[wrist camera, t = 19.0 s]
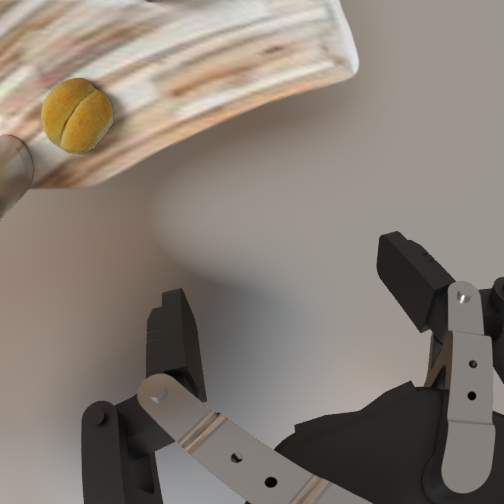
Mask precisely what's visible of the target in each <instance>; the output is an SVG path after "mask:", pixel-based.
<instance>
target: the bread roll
mask: <svg viewBox="0 0 504 504" xmlns="http://www.w3.org/2000/svg"><path fill="white" fill-rule="evenodd" d="M41 120H42V125H43V128H44V131H45V133H46V135H47V137H48V138H49V139H50V140H51V141H52V142H53V143H54V144H56V145H57V146H59V147H60V148H62V149H63V150H65V151H67V152H69V153H74V154H82V153H85V152H87V151H89V150H91V149H92V148H95V146H96V145H97V144H98V143H99V142H100V140H101V139H102V138H103V137H104V135H105V134H106V133H107V131H108V130H109V127H110V126H111V125H112V124H113V122H114V120H113V109H112V105H111V102H110V101H109V99H108V98H107V96H106V95H105V94H104V93H102V92H100V91H99V90H97V89H95V88H94V87H93V86H92V85H91V83H89V82H88V81H87V80H85V79H83V78H74V79H70V80H66V81H64V82H62V83H60V84H59V85H58V86H56V87H55V88H54V89H53V90H52V91H51V92H50V93H49V94H48V96H47V97H46V99H45V101H44V103H43V107H42V111H41Z"/></svg>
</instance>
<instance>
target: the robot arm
mask: <svg viewBox="0 0 504 504" xmlns="http://www.w3.org/2000/svg"><path fill="white" fill-rule="evenodd" d="M32 178H33V163H32V159H31V156H30V153H29V151H28V149H27V148H26V147H25V145H24V144H23V143H22V142H21V141H20V140H19V139H17V138H15V137H13V136H10V135H1V136H0V221H1V220H2V218H3V217H4V216H5V215H6V214H7V212H8V211H9V210H10V209H11V208H12V207H13V206H14V205H15V204H16V203H17V202H18V200H19V199H20V198H21V197H22V196H23V195H24V194H25V193H26V191H27V190H28V189H29V187H30V185H31V182H32ZM377 272H378V275H379V277H380V279H381V280H382V282H383V283H384V284H385V285H386V287H387V288H388V289H389V291H390V292H391V293H392V295H393V296H394V297H395V299H396V300H397V301H398V303H399V304H400V305H401V306H402V308H403V309H404V311H405V312H406V314H407V315H408V316H409V318H410V319H411V320H412V322H413V323H414V324H415V326H416V327H417V329H418V330H419V332H420V333H422V332H424V331H427V330H429V329H430V330H432V332H433V333H432V336H431V343H430V354H429V364H428V372H427V377H426V381H425V383H424V387H414V385H413V383H412V381H409V382H407V383H404V384H403V385H400V386H398V387H396V388H393V389H391V390H389V391H387V392H385V393H383V394H382V395H381V396H379V397H378V398H377V399H375V400H374V401H373V402H371V403H370V404H369V405H367V406H366V407H365V408H363V409H362V410H360V411H356V412H348V413H340V414H332V415H324V416H322V417H318V418H315V419H312V420H309V421H306V422H303V423H299V424H296V425H294V426H295V433H293V434H292V435H290V436H288V437H287V438H286V439H284V440H283V441H282V442H281V443H280V444H279V445H278V446H276V448H275V449H274V450H273V449H271V448H270V447H268V446H267V445H265V444H264V443H262V442H261V441H259V440H258V439H257V438H255V437H254V436H252V435H251V434H249V433H248V432H246V431H245V430H244V429H242V428H241V427H240V426H238V425H237V424H235V423H234V422H233V421H231V420H230V419H229V418H227V417H226V416H224V415H223V414H221V413H216V412H214V411H213V410H211V409H210V408H209V407H207V406H206V405H205V404H204V403H203V402H206V401H207V398H206V391H205V385H204V378H203V370H202V363H201V355H200V347H199V340H198V331H197V326H196V322H195V318H194V315H193V313H192V311H191V308H190V306H189V304H188V301H187V299H186V296H185V294H184V291H183V290H182V288H179V289H175V290H171V291H167V292H163V293H162V307H159V308H155V309H153V310H152V312H151V314H150V316H149V318H148V320H147V344H146V345H147V347H146V379H145V380H144V381H143V382H142V384H141V385H140V387H139V389H138V393H137V394H136V395H135V396H133V397H131V398H129V399H127V400H125V401H124V402H121V403H119V404H117V405H115V406H114V405H112V404H111V403H109V402H107V401H98V402H95V403H93V404H91V405H90V406H89V407H88V408H87V409H86V410H85V412H84V414H83V417H82V432H81V433H82V434H81V436H82V437H81V445H82V446H81V447H82V448H81V452H82V481H83V497H84V504H163V500H162V495H161V489H160V484H159V478H158V472H157V465H156V458H155V451H157V450H159V449H161V448H163V447H165V446H167V445H169V444H171V443H173V442H175V441H176V442H177V443H179V444H180V445H181V446H182V447H183V448H184V449H185V450H186V451H187V452H188V453H189V454H190V455H191V456H192V457H194V458H195V459H196V460H197V461H198V462H199V463H200V464H201V465H203V466H204V467H205V468H206V469H207V470H209V471H210V472H211V473H212V474H213V475H215V476H216V477H217V478H218V479H220V480H221V481H222V482H223V483H224V484H226V485H227V486H228V487H230V488H231V489H232V490H233V491H235V492H236V493H237V494H239V495H240V496H241V497H243V498H244V499H245V500H246V502H245V504H504V415H502V414H500V413H497V412H495V411H492V406H493V405H492V404H493V367H494V369H495V370H496V372H497V374H498V375H499V377H500V378H501V380H502V382H503V384H504V277H500V278H498V279H496V281H495V282H494V285H493V287H492V288H491V289H483V290H477V288H475V287H474V286H473V285H472V284H470V283H467V282H463V281H457V282H456V281H455V280H454V279H453V278H452V277H451V275H450V274H449V273H447V271H446V270H445V269H444V268H443V267H442V266H441V265H440V264H439V263H438V262H437V261H435V260H434V258H433V257H432V256H431V255H430V254H428V252H427V251H426V250H425V249H424V248H423V247H422V246H421V245H419V244H417V243H415V242H414V241H412V240H407V239H406V238H405V237H404V236H403V235H402V234H401V233H400V232H398V231H395V232H391V233H388V234H384V235H381V236H380V238H379V246H378V256H377Z"/></svg>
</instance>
